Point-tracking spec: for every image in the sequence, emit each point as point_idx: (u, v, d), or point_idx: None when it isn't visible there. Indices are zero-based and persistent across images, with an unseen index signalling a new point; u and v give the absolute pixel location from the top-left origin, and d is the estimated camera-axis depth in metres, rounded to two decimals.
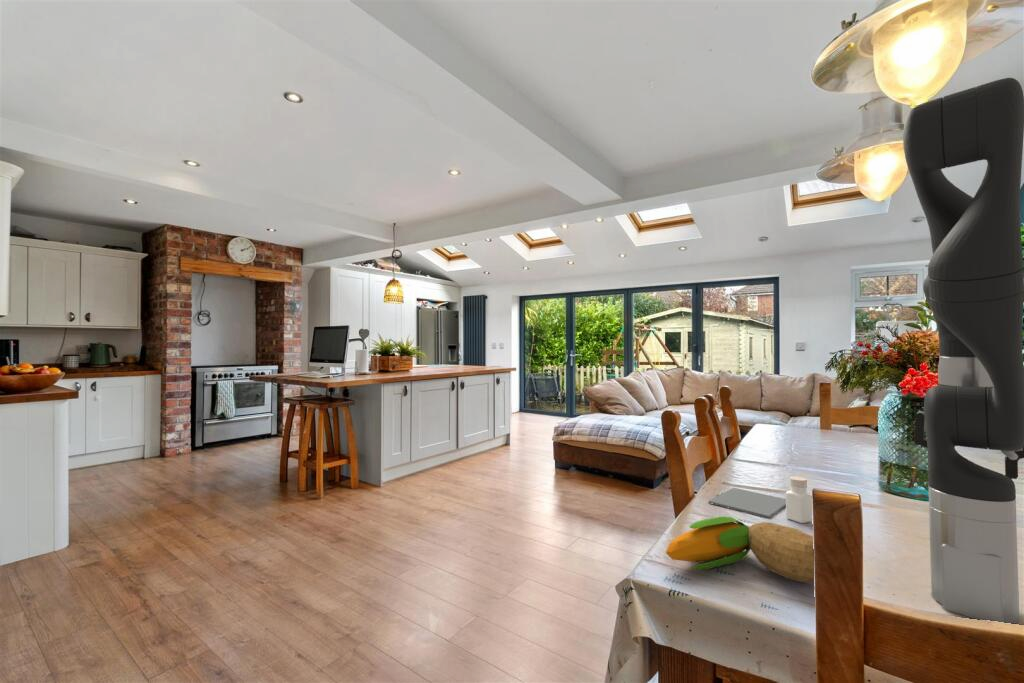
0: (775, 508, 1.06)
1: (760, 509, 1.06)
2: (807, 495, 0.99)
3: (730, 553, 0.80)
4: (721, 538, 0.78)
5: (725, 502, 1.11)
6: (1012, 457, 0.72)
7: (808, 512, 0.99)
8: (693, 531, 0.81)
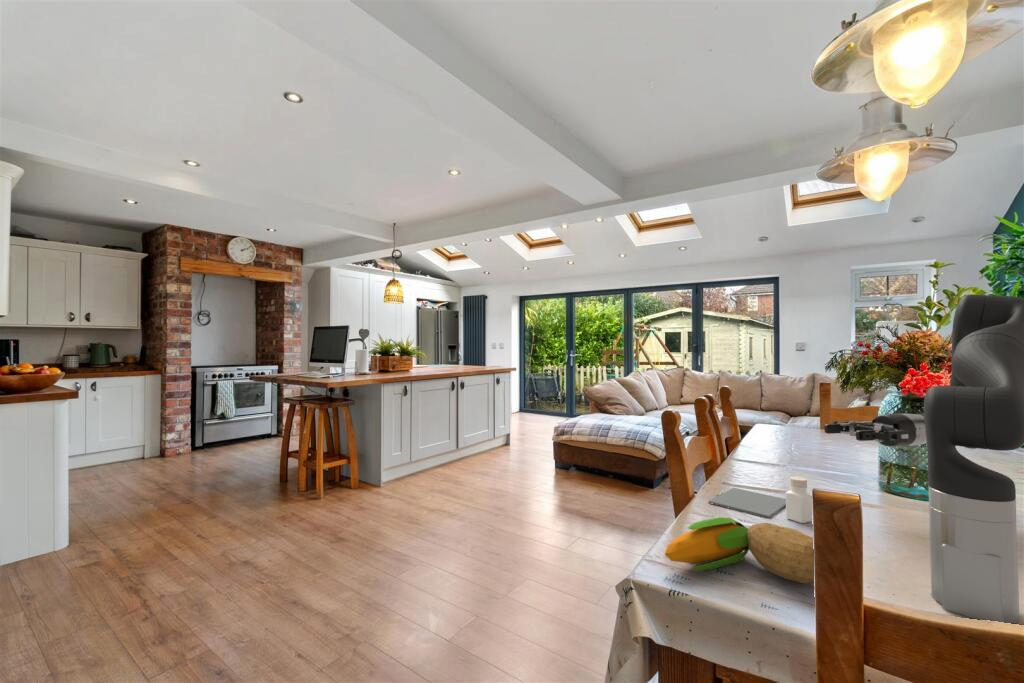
0: (775, 508, 1.06)
1: (760, 509, 1.06)
2: (807, 495, 0.99)
3: (729, 554, 0.79)
4: (720, 539, 0.78)
5: (725, 502, 1.11)
6: (876, 429, 0.98)
7: (808, 512, 0.99)
8: (692, 532, 0.80)
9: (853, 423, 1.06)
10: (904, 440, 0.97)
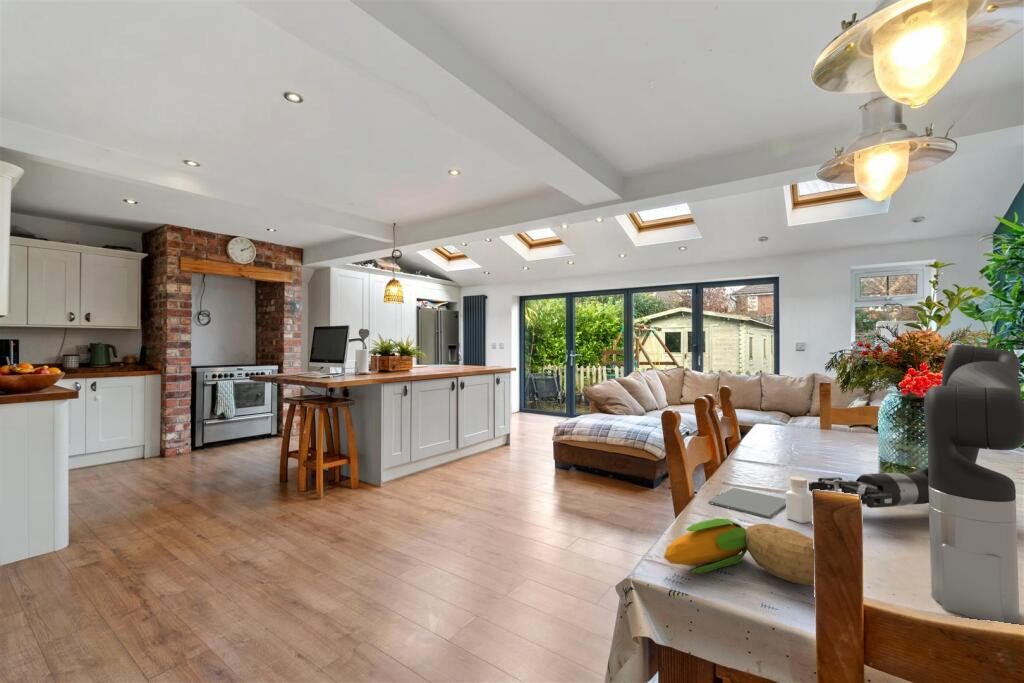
0: (775, 508, 1.06)
1: (760, 509, 1.06)
2: (807, 495, 0.99)
3: (727, 555, 0.79)
4: (719, 541, 0.77)
5: (725, 502, 1.11)
6: (859, 492, 0.97)
7: (808, 512, 0.99)
8: (690, 534, 0.79)
9: (837, 482, 1.05)
10: (887, 504, 0.96)
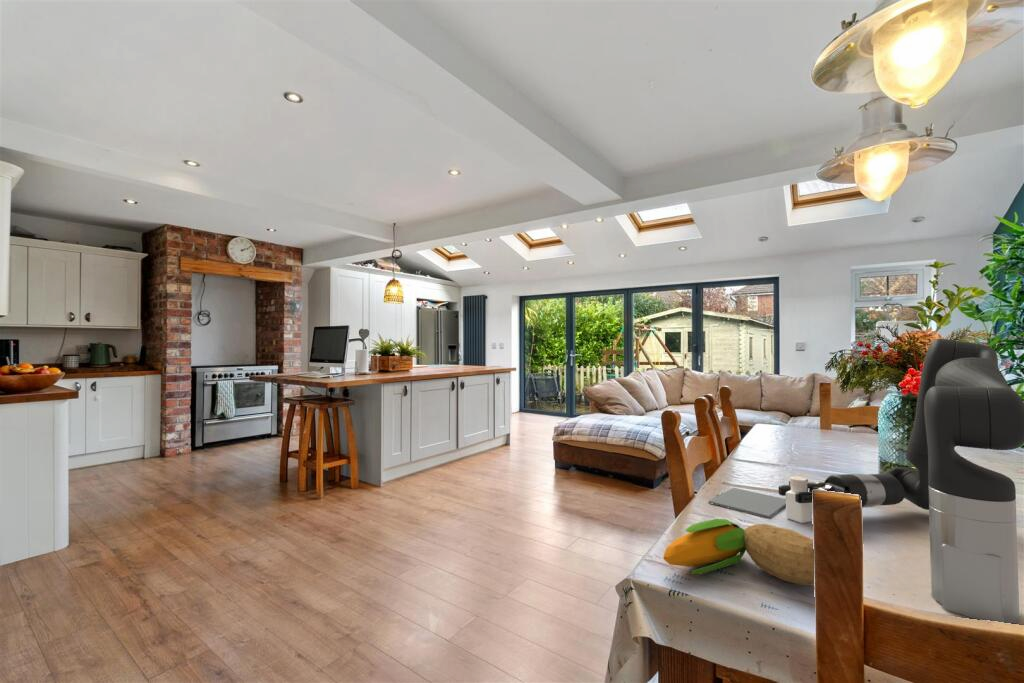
0: (775, 508, 1.06)
1: (760, 509, 1.06)
2: None
3: (726, 556, 0.79)
4: (718, 541, 0.77)
5: (725, 502, 1.11)
6: None
7: (808, 512, 0.99)
8: (689, 535, 0.79)
9: (808, 484, 1.03)
10: None
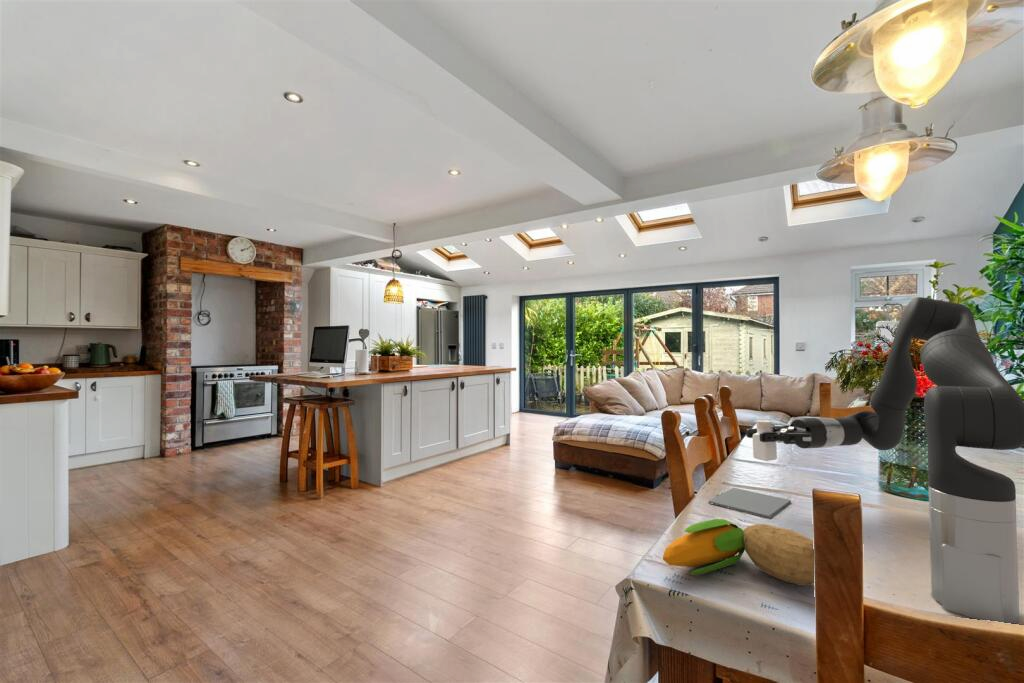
0: (775, 508, 1.06)
1: (760, 509, 1.06)
2: None
3: (725, 556, 0.79)
4: (717, 542, 0.77)
5: (725, 502, 1.11)
6: (777, 431, 1.07)
7: (772, 451, 1.08)
8: (689, 535, 0.79)
9: (773, 427, 1.12)
10: (805, 442, 1.04)
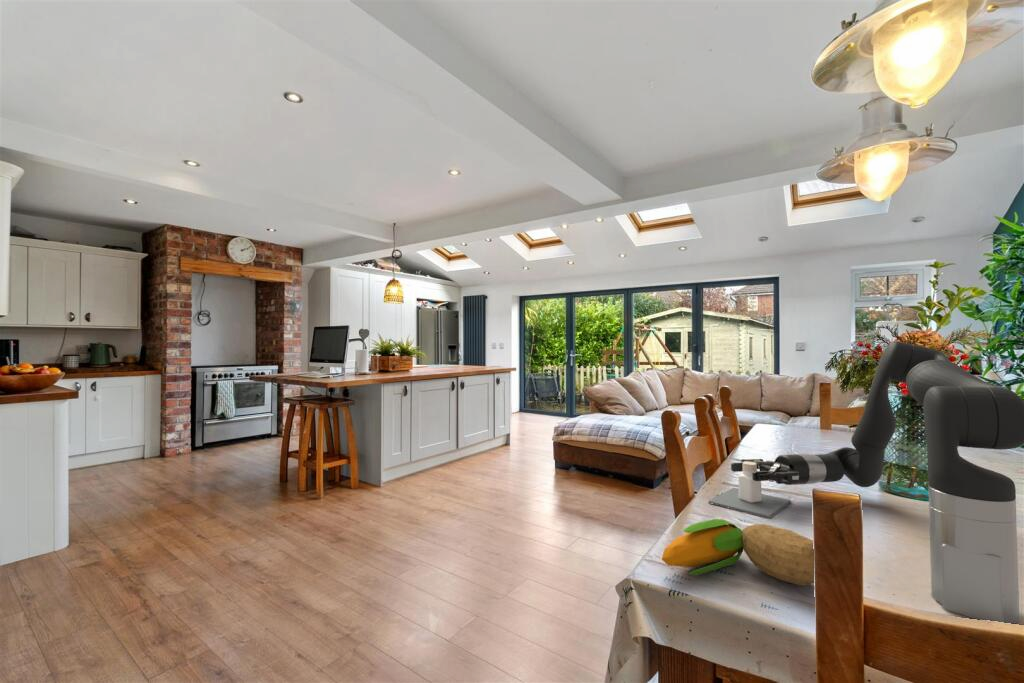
0: (775, 508, 1.06)
1: (760, 509, 1.06)
2: None
3: (724, 556, 0.79)
4: (716, 542, 0.77)
5: (725, 502, 1.11)
6: (770, 470, 1.08)
7: (757, 493, 1.11)
8: (688, 535, 0.79)
9: (756, 462, 1.16)
10: (794, 481, 1.07)
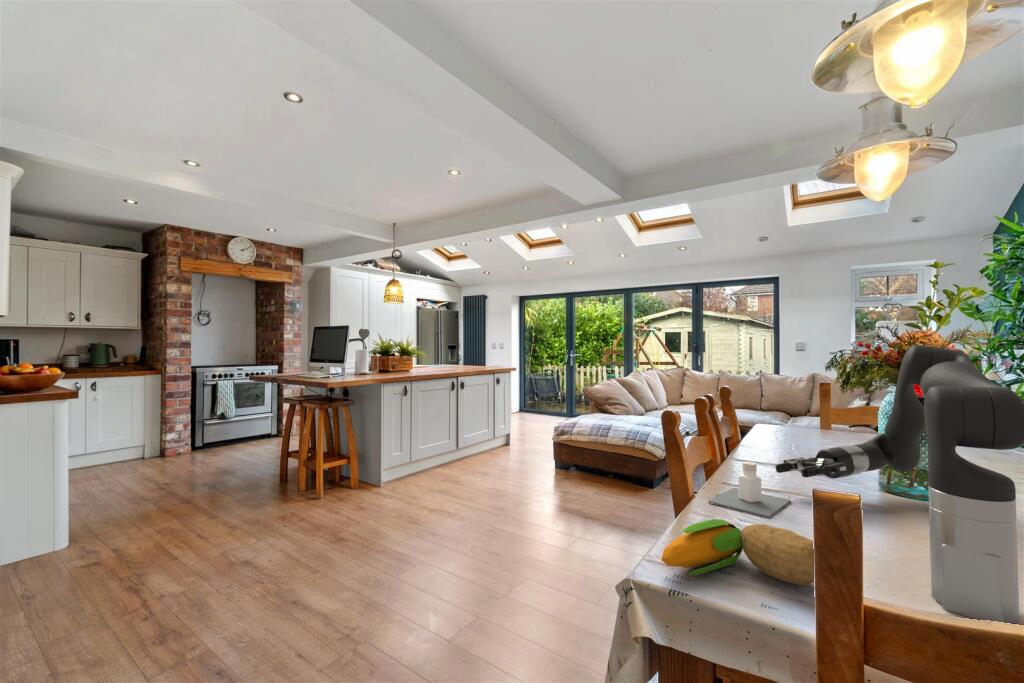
0: (775, 508, 1.06)
1: (760, 509, 1.06)
2: (756, 478, 1.11)
3: (723, 557, 0.79)
4: (715, 542, 0.77)
5: (725, 502, 1.11)
6: (817, 465, 1.09)
7: (757, 493, 1.11)
8: (687, 535, 0.79)
9: (799, 460, 1.17)
10: (843, 472, 1.08)
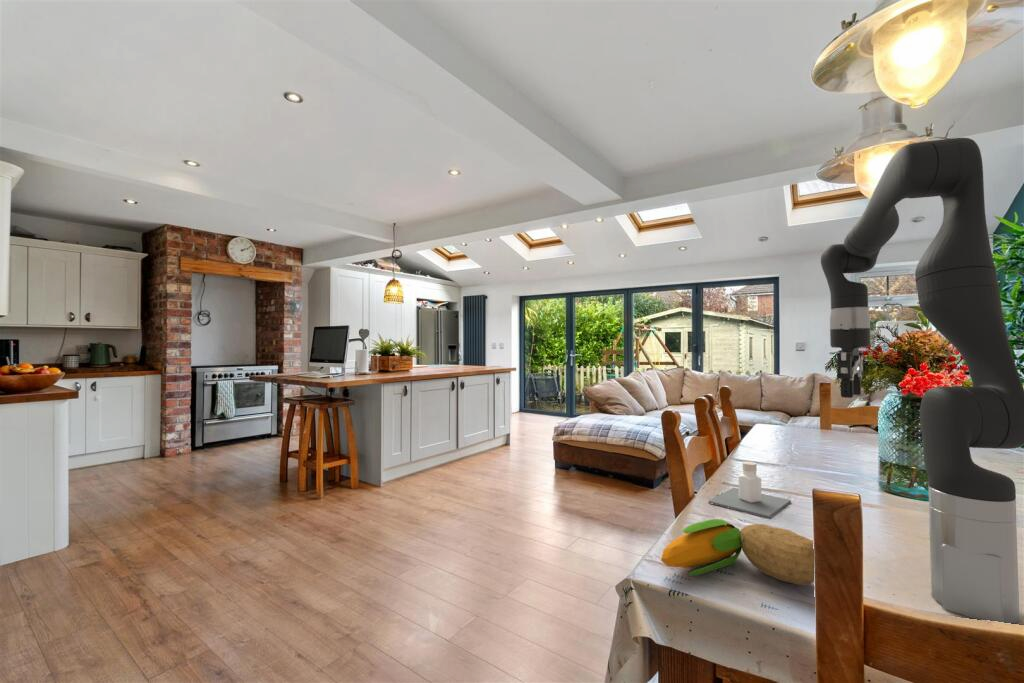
0: (775, 508, 1.06)
1: (760, 509, 1.06)
2: (756, 478, 1.11)
3: (723, 557, 0.79)
4: (715, 542, 0.77)
5: (725, 502, 1.11)
6: (839, 378, 1.01)
7: (757, 493, 1.11)
8: (686, 536, 0.79)
9: None
10: (848, 358, 0.98)
